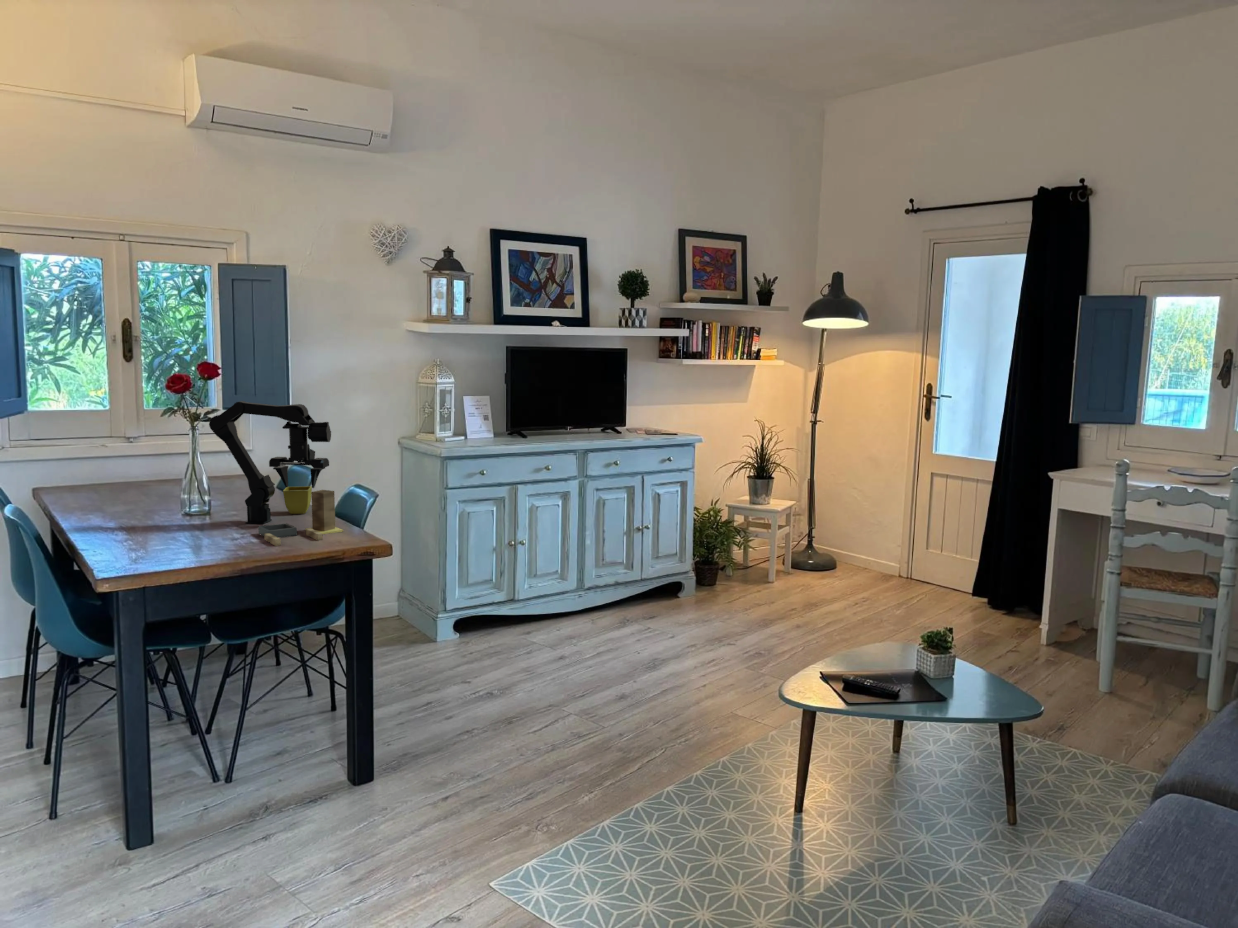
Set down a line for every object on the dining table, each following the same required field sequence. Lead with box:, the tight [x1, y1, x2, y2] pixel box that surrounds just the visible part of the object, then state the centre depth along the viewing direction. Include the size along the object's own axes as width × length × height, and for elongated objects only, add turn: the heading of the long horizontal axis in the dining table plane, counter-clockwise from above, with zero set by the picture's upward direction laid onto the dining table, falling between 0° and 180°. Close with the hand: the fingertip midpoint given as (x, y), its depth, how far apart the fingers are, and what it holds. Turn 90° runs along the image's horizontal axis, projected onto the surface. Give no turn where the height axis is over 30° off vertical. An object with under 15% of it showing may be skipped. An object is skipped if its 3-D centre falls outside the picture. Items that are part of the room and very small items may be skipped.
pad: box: [304, 526, 344, 535], centre depth 293 cm, size 9×9×1 cm
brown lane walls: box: [263, 527, 324, 547], centre depth 279 cm, size 10×14×2 cm
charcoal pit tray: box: [257, 522, 298, 538], centre depth 286 cm, size 9×9×2 cm
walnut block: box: [311, 489, 336, 531], centre depth 292 cm, size 5×5×12 cm
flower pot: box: [282, 485, 313, 515], centre depth 321 cm, size 9×9×9 cm
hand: (300, 487), depth 304 cm, fingers open, 9 cm apart
